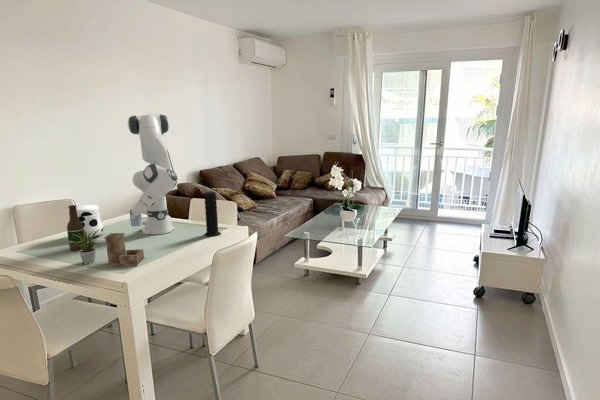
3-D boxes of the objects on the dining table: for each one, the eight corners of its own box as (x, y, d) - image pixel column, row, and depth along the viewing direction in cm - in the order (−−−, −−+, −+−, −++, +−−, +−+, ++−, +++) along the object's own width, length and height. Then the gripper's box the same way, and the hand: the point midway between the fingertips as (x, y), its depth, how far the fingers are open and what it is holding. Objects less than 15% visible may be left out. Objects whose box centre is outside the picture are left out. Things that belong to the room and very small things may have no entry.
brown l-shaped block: (144, 258, 191) (141, 231, 188) (137, 266, 181) (134, 237, 178) (115, 259, 190) (112, 232, 187) (106, 266, 180) (102, 238, 178)
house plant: (93, 254, 197) (89, 224, 194) (112, 258, 192) (109, 226, 189) (67, 264, 184) (62, 231, 181) (87, 268, 179) (83, 234, 176)
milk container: (104, 231, 240) (100, 203, 236) (103, 238, 224) (99, 209, 221) (72, 235, 232) (68, 206, 229) (69, 243, 217) (65, 212, 213)
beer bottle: (89, 247, 210) (84, 204, 205) (77, 251, 202) (71, 207, 198) (78, 245, 212) (73, 203, 207) (66, 250, 205) (60, 206, 200)
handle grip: (218, 236, 225) (223, 232, 234) (215, 192, 219) (220, 189, 229) (201, 236, 226) (207, 231, 235) (198, 192, 220) (204, 189, 230)
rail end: (142, 224, 196) (140, 208, 194) (139, 226, 192) (137, 210, 190) (134, 224, 195) (132, 209, 194) (131, 226, 191) (129, 210, 190)
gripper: (153, 189, 201) (137, 208, 202) (139, 196, 181) (121, 217, 182) (163, 197, 202) (146, 216, 203) (150, 205, 182) (131, 226, 183)
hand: (134, 216), depth 193 cm, fingers closed on rail end, 4 cm apart
